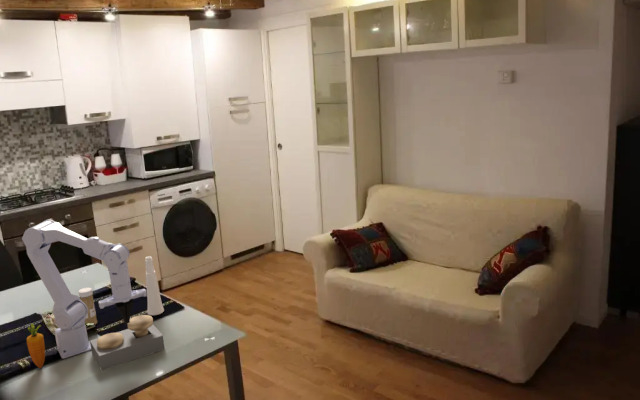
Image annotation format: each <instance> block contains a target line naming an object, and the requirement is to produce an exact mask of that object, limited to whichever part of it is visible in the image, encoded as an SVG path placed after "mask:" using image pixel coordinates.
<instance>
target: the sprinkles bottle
mask: <svg viewBox="0 0 640 400" xmlns="http://www.w3.org/2000/svg"><path fill="white" fill-rule="evenodd" d="M93 295H94V293H93V288H92V287H83V288H81V289H79V290H78V296H79V298H80V300H81V301H82V302H84V303H85V304H86V306H87V308H88V312H87V314H86V316H85V323H94V324H95V325H96V324H98V320H97V313H96V306H95V302H94V296H93Z"/></svg>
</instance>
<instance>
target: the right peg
mask: <svg viewBox="0 0 640 400" xmlns="http://www.w3.org/2000/svg"><path fill="white" fill-rule="evenodd" d="M126 325H127V329H129V330H132V331H135V335H136V338H140V337H143V336H146V335H148V328H149V327H151V326H152V325H154V318H153V317H152V315H149V314H141V315H136V316H132V317H130V323H126Z"/></svg>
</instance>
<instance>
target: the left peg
mask: <svg viewBox="0 0 640 400" xmlns="http://www.w3.org/2000/svg"><path fill="white" fill-rule="evenodd" d="M97 338H98V339H97ZM97 338H96V339H97V347H98V348H99V349H103V350H107V349H113V348H116V347H118V346H120V345H121V344H122V343H123V342H124V338H123V335H122V334H121V333H116V332H110V333H109V332H108V333H106V334H103V335H101V336H99V337H97Z"/></svg>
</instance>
